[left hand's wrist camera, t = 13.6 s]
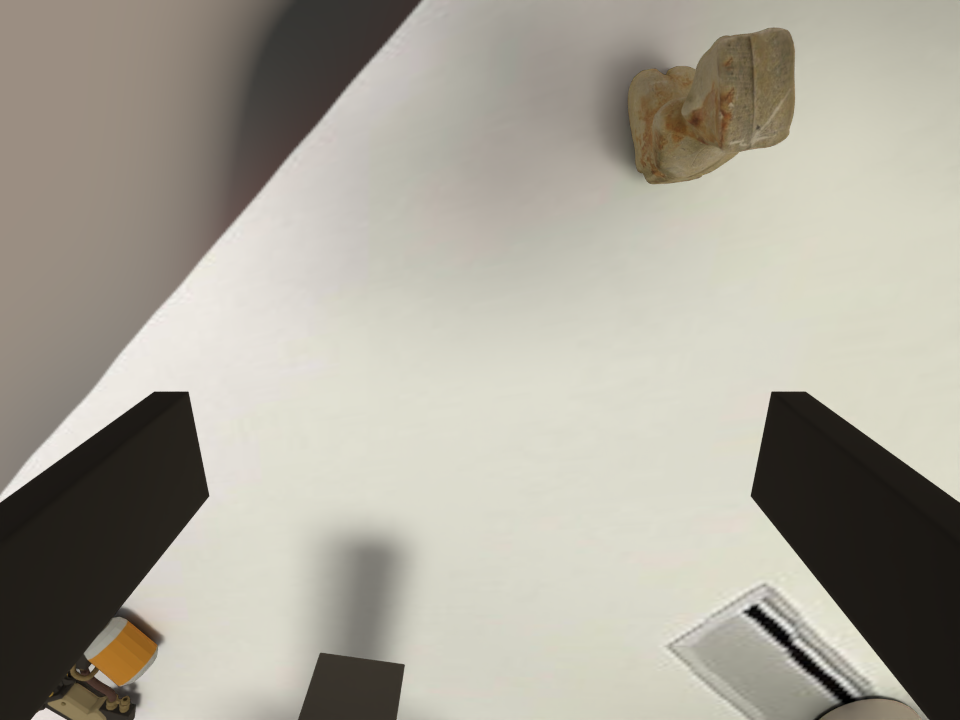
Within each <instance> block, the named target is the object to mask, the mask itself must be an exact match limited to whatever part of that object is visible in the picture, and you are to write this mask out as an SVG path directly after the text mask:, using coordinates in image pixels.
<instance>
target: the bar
mask: <svg viewBox="0 0 960 720" xmlns="http://www.w3.org/2000/svg"><path fill="white" fill-rule="evenodd" d="M404 667H405V665H404V664H398V663H390V662H383V661H376V660H369V659H362V658H355V657H347V656H340V655H333V654H326V653H320V655H319V658H318V661H317V664H316V667H315V670H314V673H313V676H312V679H311V682H310V685H309V688H308V691H307V694H306V697H305V700H304V704H303V707H302V710H301V713H300V716H299V719H298V720H396V719H397V713H398V706H399V700H400V693H401V686H402V680H403V673H404Z"/></svg>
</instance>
